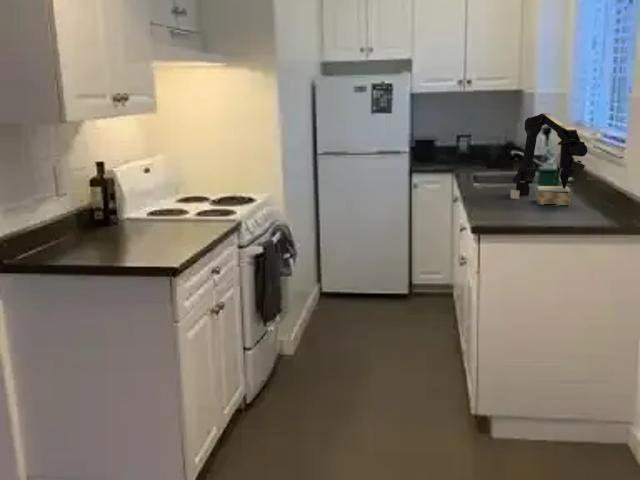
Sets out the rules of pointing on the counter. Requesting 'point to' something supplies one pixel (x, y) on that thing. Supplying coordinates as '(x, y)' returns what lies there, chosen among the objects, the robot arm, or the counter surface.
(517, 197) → the block
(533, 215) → the counter surface
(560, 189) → the lid
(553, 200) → the box
